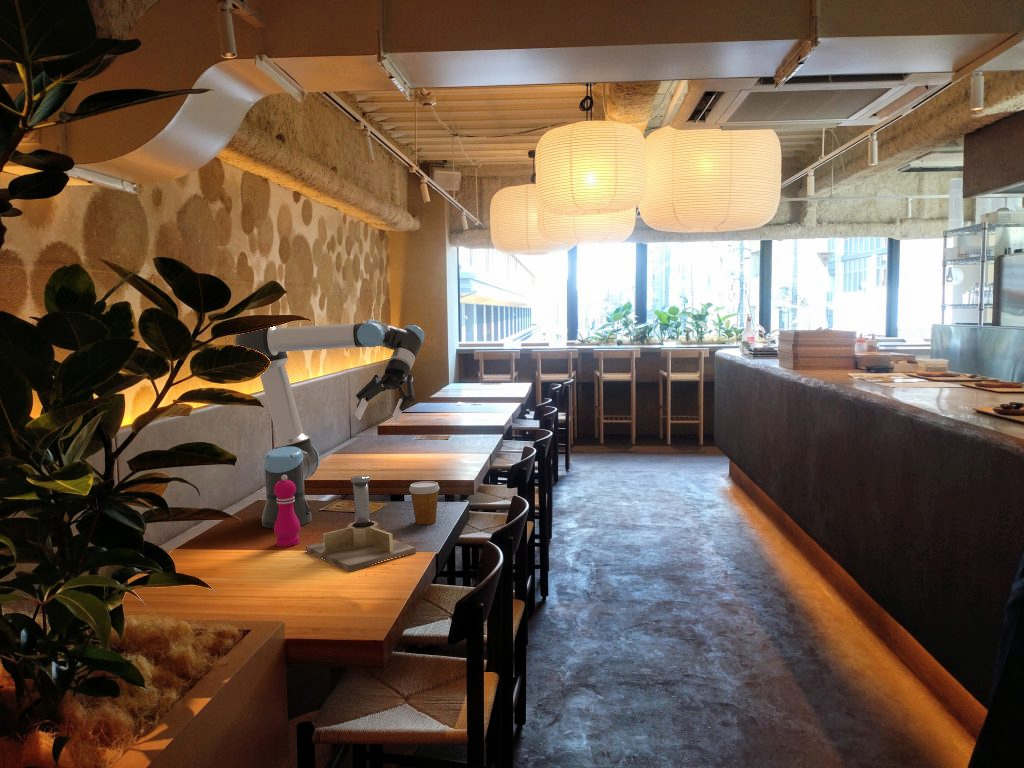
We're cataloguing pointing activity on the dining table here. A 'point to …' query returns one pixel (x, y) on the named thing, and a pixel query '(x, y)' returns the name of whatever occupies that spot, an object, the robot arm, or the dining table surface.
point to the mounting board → (359, 554)
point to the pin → (361, 501)
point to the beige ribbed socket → (358, 538)
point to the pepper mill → (286, 514)
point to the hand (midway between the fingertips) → (376, 417)
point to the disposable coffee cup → (424, 501)
